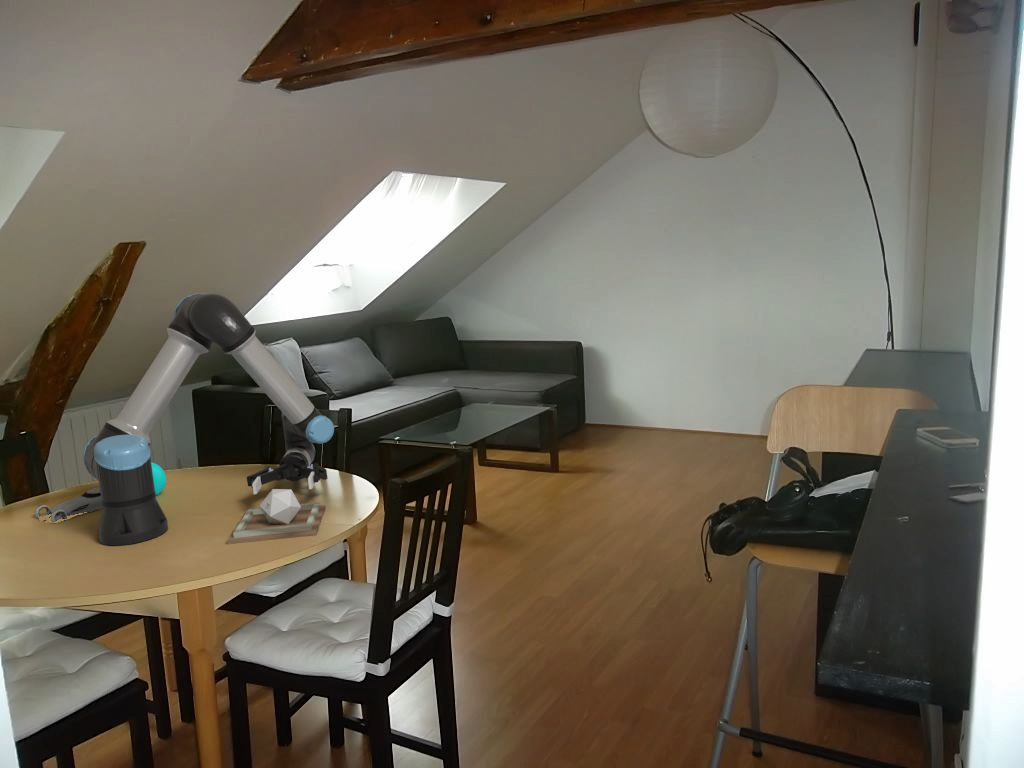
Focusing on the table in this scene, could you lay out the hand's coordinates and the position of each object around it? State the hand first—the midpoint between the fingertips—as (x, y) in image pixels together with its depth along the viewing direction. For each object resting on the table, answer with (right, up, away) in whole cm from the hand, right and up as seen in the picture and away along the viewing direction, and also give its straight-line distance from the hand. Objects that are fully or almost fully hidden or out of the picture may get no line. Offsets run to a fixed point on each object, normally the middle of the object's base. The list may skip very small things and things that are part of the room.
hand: (282, 486), depth 200 cm
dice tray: (+1, -8, -7) cm, 11 cm away
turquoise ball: (-44, -7, +21) cm, 49 cm away
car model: (-57, -9, +17) cm, 60 cm away
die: (+2, -8, -8) cm, 11 cm away
